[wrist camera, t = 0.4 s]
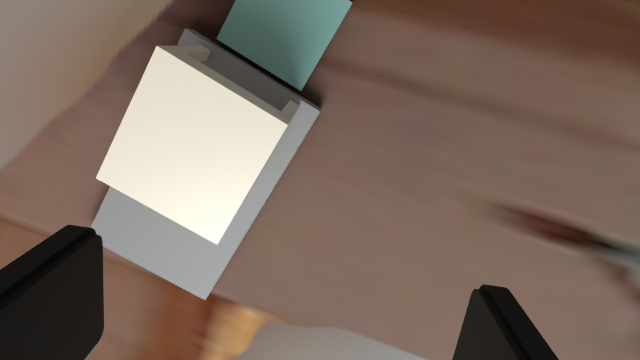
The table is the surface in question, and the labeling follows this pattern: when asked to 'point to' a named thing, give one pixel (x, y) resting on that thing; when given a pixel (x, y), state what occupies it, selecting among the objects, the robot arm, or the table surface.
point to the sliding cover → (192, 141)
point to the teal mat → (283, 34)
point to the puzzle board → (210, 259)
